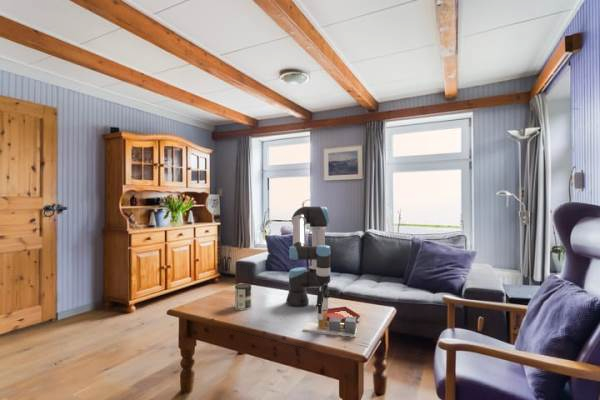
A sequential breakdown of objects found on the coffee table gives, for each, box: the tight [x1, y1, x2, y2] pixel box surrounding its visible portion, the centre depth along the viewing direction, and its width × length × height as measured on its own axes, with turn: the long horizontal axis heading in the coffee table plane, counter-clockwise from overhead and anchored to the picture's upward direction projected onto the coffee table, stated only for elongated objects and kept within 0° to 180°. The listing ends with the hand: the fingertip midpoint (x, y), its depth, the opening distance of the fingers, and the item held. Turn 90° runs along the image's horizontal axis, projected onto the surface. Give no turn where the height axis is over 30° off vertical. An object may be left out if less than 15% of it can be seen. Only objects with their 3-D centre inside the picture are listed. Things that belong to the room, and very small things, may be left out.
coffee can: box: [234, 283, 252, 311], centre depth 201 cm, size 10×10×14 cm
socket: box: [344, 316, 357, 334], centre depth 163 cm, size 7×5×6 cm
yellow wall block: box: [317, 311, 345, 330], centre depth 165 cm, size 18×4×8 cm, turn 74°
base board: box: [302, 322, 358, 338], centre depth 166 cm, size 10×28×1 cm, turn 74°
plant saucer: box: [323, 306, 361, 323], centre depth 184 cm, size 18×18×3 cm
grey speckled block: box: [328, 317, 343, 332], centre depth 165 cm, size 6×6×5 cm
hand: (322, 314), depth 167 cm, fingers open, 13 cm apart
